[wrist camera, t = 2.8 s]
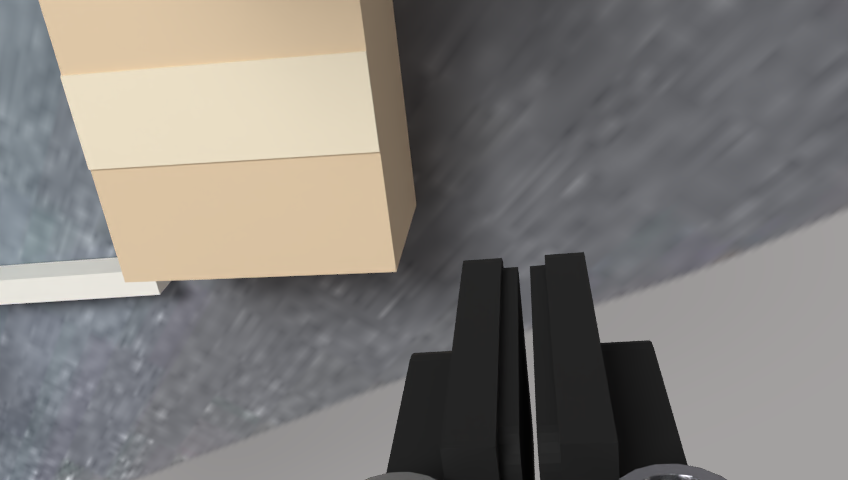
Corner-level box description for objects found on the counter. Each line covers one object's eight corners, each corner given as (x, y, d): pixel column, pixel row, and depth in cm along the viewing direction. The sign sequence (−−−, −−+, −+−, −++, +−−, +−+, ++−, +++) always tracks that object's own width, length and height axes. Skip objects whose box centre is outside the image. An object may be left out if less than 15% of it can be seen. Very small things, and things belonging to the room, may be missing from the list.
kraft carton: (380, -116, 27) (344, -108, 22) (417, 202, 32) (395, 273, 27) (111, -85, 29) (14, -71, 23) (188, 214, 34) (124, 283, 28)
